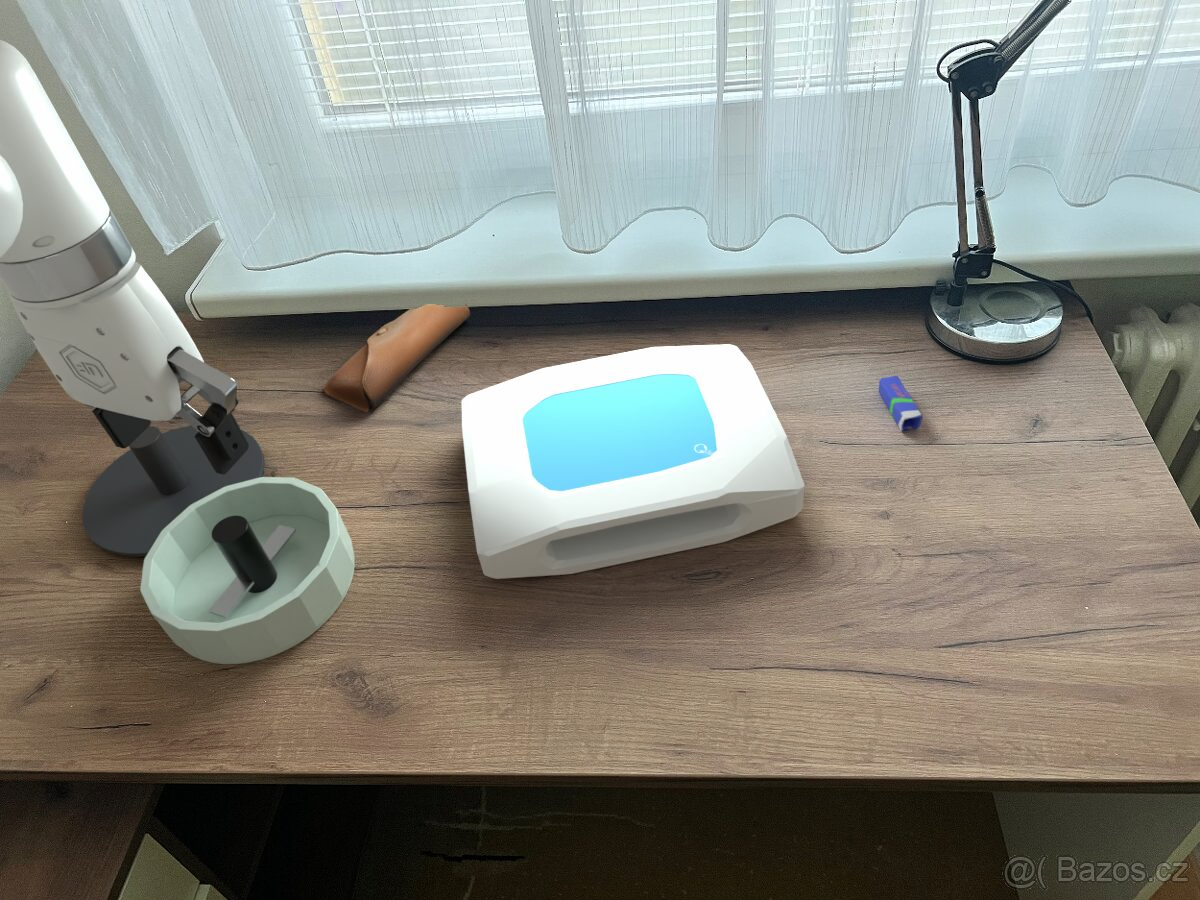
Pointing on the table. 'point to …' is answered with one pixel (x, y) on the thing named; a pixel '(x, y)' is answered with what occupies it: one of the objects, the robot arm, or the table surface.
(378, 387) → the sunglasses case
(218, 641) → the bowl
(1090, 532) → the table surface
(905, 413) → the eraser
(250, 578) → the blade
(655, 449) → the document scanner
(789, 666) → the table surface
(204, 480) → the lid
